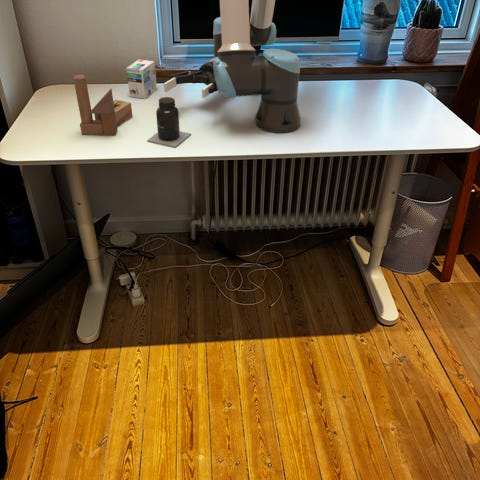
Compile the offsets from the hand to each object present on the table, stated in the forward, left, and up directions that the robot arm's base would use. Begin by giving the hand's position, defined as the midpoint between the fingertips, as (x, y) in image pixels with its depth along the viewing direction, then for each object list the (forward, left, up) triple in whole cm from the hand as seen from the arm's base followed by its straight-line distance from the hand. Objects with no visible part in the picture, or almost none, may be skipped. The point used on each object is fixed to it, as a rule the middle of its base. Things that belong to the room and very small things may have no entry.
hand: (183, 90), depth 159 cm
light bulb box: (+27, -18, -12) cm, 35 cm away
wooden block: (+21, +18, -11) cm, 30 cm away
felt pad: (-1, +12, -11) cm, 16 cm away
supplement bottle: (0, +12, -11) cm, 16 cm away
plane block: (+22, +9, -11) cm, 26 cm away
